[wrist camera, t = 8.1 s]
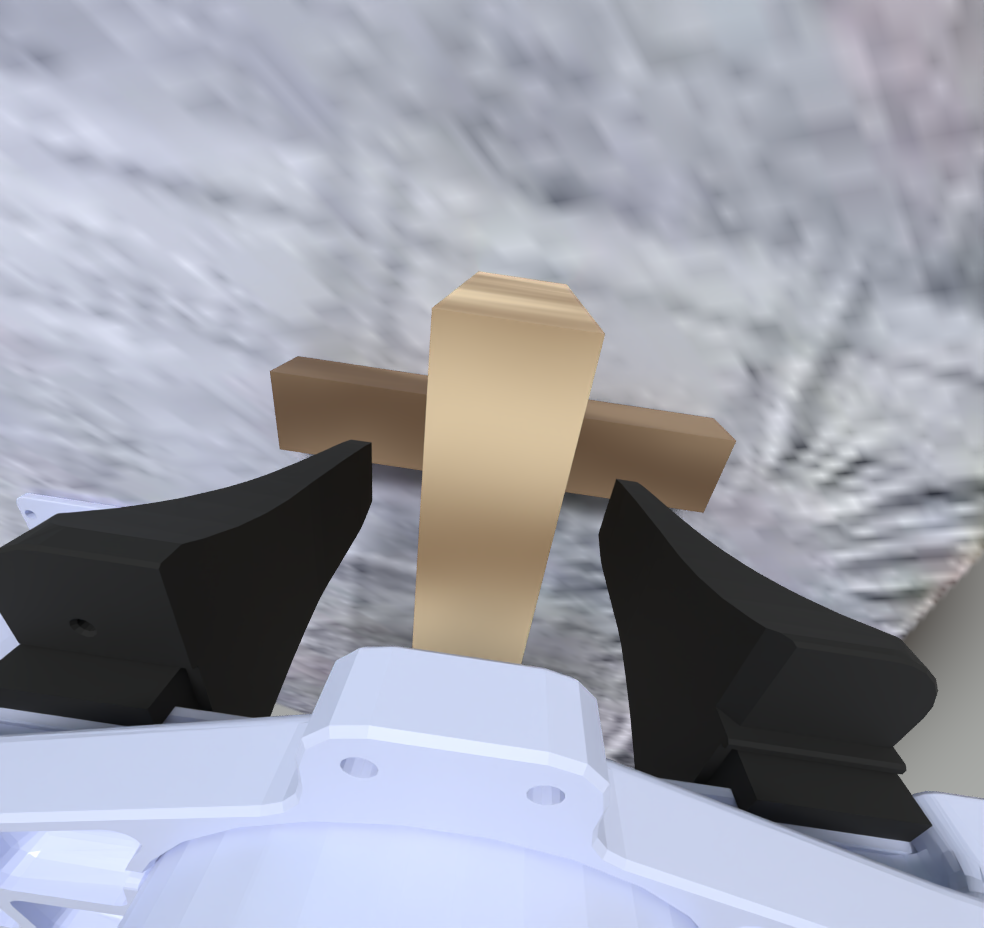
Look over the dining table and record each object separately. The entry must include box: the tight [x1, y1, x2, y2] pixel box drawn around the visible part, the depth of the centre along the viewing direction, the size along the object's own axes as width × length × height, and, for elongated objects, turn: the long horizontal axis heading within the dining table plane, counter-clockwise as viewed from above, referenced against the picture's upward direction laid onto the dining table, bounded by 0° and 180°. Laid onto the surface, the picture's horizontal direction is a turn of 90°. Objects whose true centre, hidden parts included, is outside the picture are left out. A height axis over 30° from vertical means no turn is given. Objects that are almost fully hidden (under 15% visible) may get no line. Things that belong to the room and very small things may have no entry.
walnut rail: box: [270, 356, 736, 513], centre depth 16 cm, size 3×16×2 cm, turn 82°
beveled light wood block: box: [412, 272, 605, 664], centre depth 13 cm, size 11×3×8 cm, turn 172°
